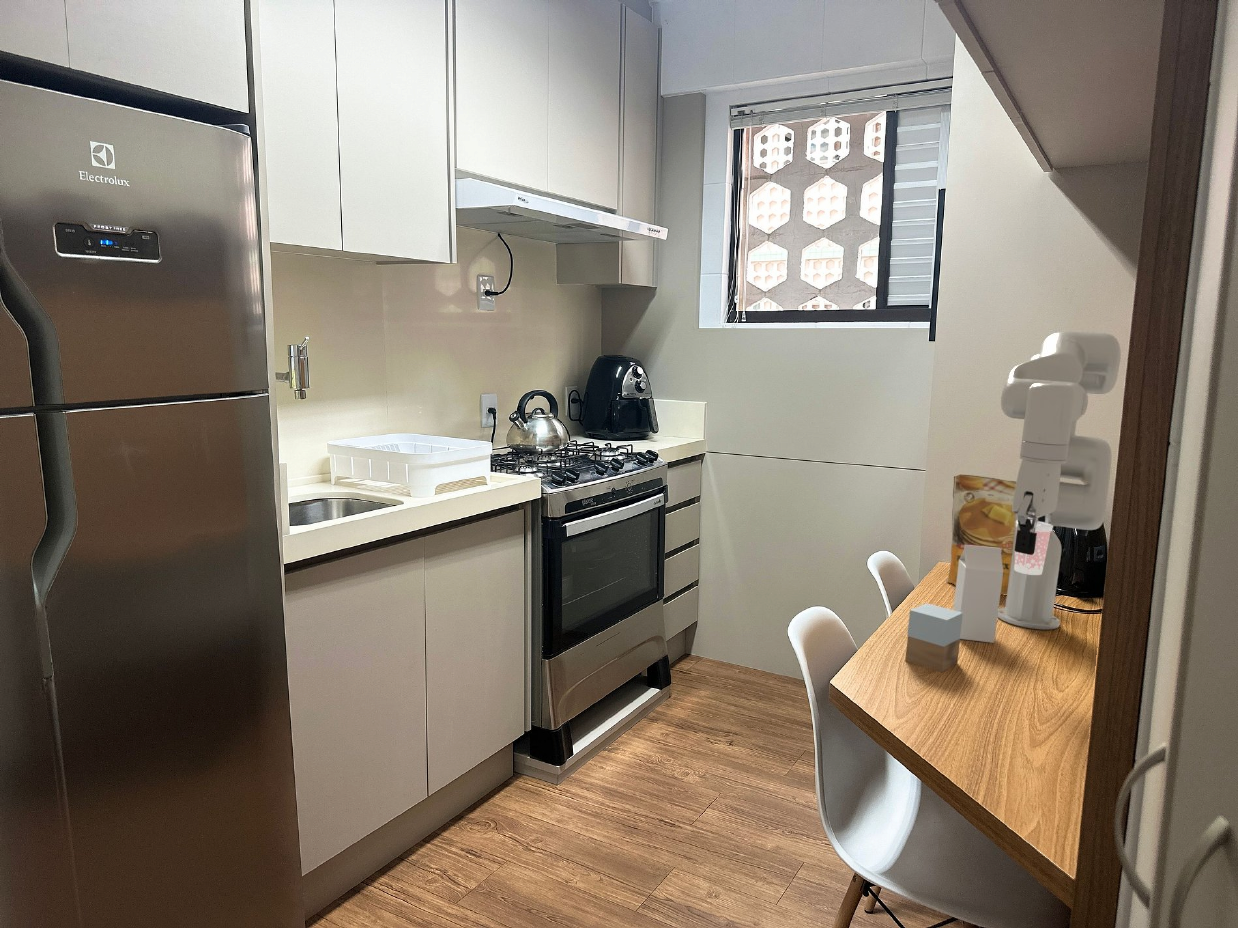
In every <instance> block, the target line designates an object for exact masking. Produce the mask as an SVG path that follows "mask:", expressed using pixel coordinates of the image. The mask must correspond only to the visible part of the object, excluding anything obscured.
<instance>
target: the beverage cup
mask: <svg viewBox="0 0 1238 928" xmlns="http://www.w3.org/2000/svg"><path fill="white" fill-rule="evenodd" d="M1034 515H1035V514H1034ZM1030 521H1031V524H1032V520H1030ZM1015 526H1016V527H1017V526H1018V520H1017V521H1016V525H1015ZM1053 529H1054V526H1053V525H1051V524H1048V523H1045V522H1040V521H1038V522H1037V526H1036V529H1035V533H1037V537H1036V544H1035V552H1034V554H1033V555H1029V554H1024V553H1019V552H1016V551H1015V565H1014V570H1015V571H1017V572H1020V573H1023V574H1028V575H1041V574H1042V571H1043V566H1044V561H1045V556H1046V552H1047V547H1048V542H1049V537H1050V532H1051V531H1052V530H1053ZM1016 535H1017V532H1016Z"/></svg>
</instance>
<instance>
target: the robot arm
mask: <svg viewBox="0 0 1238 928" xmlns="http://www.w3.org/2000/svg"><path fill="white" fill-rule="evenodd" d="M1121 351H1122V350H1121V345H1120V343H1119V341H1118V339H1117V338H1116V337H1115V336H1114V335H1112V334H1110V333H1106V332H1088V331H1087V332H1085V331H1084V332H1083V331H1059V332H1055V333H1052V334H1050V335H1049V336H1047V337H1046V338H1045V339H1044V340H1043V342H1042V343H1041V346H1040V349H1039V353H1038V354H1035V355H1033V356H1031V358H1030V359H1029V360H1028V361H1025V362H1023V363H1020V364H1018V365H1015V366H1014V367H1013V368H1012V369H1011V370H1010V371H1009V373H1008V375H1007V377H1006V379H1005V382H1004V385H1003V388H1002V390H1001V391H1002V392H1001V397H1000V405H1001V406H1000V407H1001V410H1002V412H1003V414H1004V415H1006V416H1007V417H1009V418H1011V419H1018V420H1024V421H1023V428H1022V437H1021V445H1020V452H1019V460H1020V459H1021V462H1020V466H1019V469H1018V473H1017V478H1016V481H1015V482H1016V487H1015V493H1014V498H1013V504H1012V511H1013V513H1015V525H1016V521H1017V520H1018V526H1017V527H1016V526H1015V532H1014V542H1013V550H1012V558H1011V566H1010V574H1009V581H1008V589H1007V596H1006V597H1005V599H1006V600H1005V605H1004V606H1003V607H999V609H998V617H997V618H998V619H1000V620H1002V621H1004V622H1005V623H1009V624H1011V625H1015V626H1016V627H1017V626H1018V627H1021V628H1027V629H1031V630H1032V629H1034V630H1054V629H1055V630H1056V629H1057V628H1059V627H1060V619H1059V618H1057V617H1056V616H1054V615H1053V614H1054V607H1055V600H1056V593H1057V586H1058V580H1059V579H1058V578H1059V571H1060V563H1061V556H1062V544H1061V541H1060V539H1059V538H1058V536H1057V534H1056V533H1055V532H1054V530H1053V529H1052V531H1051V532H1050V537H1049V542H1048V547H1047V552H1046V556H1045V561H1044V566H1043V571H1042V574H1041V575H1028V574H1023V573H1020V572H1017V571H1015V570H1014V565H1015V551H1016V552H1019V553H1024V554H1029V555H1033V554H1034V552H1035V544H1036V537H1037V533H1035V529H1036V526H1037V522H1038V521H1040V522H1045V523H1048V524H1051V525H1053V527H1062V528H1063V527H1065V528H1071V529H1077V530H1083V531H1085V530H1086V531H1087V530H1088V531H1093V530H1097V529H1099V528H1100V527H1101V526H1102V525H1103V523H1104V519H1105V517H1106V513H1107V505H1108V496H1109V487H1110V479H1111V470H1112V449H1111V446H1110V444H1109V443H1108V442H1107V441H1106V440H1105V439H1102V438H1098V437H1094V436H1082V435H1081V436H1080V435H1077V434H1076V429H1077V421H1078V420H1080V418H1081V417H1082V416H1083V415H1085V414H1086V412H1087V409H1088V404H1089V396H1088V394H1090V395H1105V394H1108V393H1110V392H1111V391H1112V390H1113V389H1114V387H1115V385H1116V383H1117V381H1118V376H1119V375H1118V374H1119V369H1120V364H1121ZM1061 479H1067V480H1075V481H1076V480H1077V481H1081V482H1082V483H1083V484H1081V483H1074V482H1073V483H1071V482H1066V481H1065V482H1064V481H1061ZM1034 514H1035V515H1034ZM1030 520H1032V524H1031V521H1030ZM1016 532H1017V535H1016Z"/></svg>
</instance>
